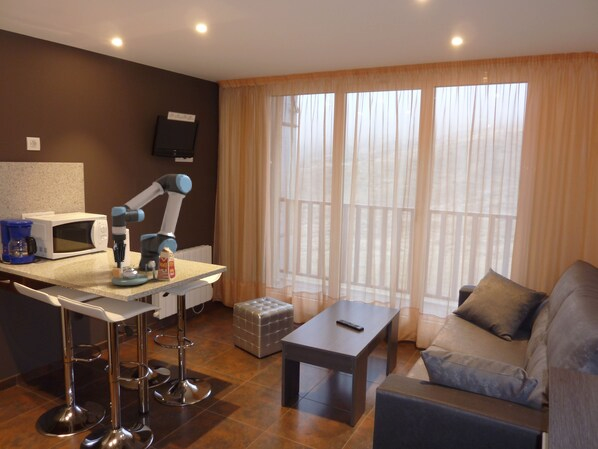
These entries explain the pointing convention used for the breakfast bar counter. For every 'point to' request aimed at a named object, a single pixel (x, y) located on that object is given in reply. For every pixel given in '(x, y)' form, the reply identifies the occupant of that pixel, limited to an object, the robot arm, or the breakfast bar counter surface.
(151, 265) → the dial indicator
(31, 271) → the breakfast bar counter surface
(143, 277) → the turntable
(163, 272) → the milk carton
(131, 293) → the breakfast bar counter surface
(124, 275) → the cover
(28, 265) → the breakfast bar counter surface
